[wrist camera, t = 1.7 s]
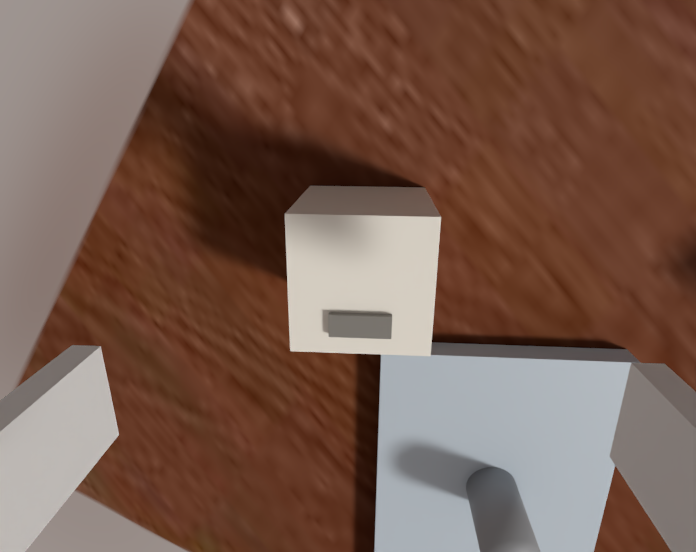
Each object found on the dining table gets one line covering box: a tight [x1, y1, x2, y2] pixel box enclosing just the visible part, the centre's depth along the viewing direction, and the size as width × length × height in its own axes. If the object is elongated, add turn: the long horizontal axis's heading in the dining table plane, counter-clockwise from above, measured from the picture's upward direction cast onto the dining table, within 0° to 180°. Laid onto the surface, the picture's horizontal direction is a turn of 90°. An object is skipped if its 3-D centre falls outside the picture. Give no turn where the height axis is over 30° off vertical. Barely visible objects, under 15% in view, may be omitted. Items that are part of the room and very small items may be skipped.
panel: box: [374, 342, 640, 552], centre depth 27 cm, size 18×14×6 cm
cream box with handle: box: [285, 186, 441, 356], centre depth 22 cm, size 6×6×7 cm
